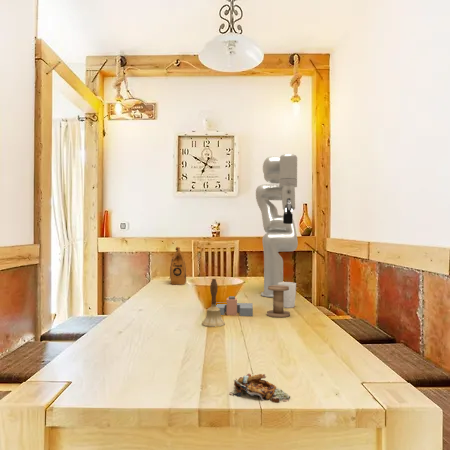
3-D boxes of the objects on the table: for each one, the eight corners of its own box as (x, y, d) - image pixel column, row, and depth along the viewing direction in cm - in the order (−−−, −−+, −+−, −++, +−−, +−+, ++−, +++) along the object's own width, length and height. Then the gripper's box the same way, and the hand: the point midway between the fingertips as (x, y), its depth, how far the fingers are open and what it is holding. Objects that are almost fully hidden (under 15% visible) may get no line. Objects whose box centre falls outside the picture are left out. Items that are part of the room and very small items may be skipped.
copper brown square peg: (237, 313, 153) (237, 296, 153) (236, 315, 149) (236, 297, 149) (226, 312, 153) (227, 295, 153) (226, 315, 149) (226, 297, 149)
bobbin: (266, 312, 155) (266, 284, 155) (288, 312, 154) (288, 285, 154) (267, 317, 146) (267, 288, 146) (291, 317, 145) (291, 288, 145)
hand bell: (230, 324, 136) (230, 278, 136) (213, 328, 129) (213, 281, 130) (213, 320, 141) (213, 276, 141) (196, 324, 135) (197, 278, 135)
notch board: (252, 310, 157) (252, 303, 158) (252, 316, 148) (252, 308, 148) (213, 309, 158) (213, 302, 158) (211, 315, 148) (211, 307, 148)
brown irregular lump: (286, 406, 74) (286, 388, 74) (227, 397, 78) (227, 379, 78) (293, 392, 80) (293, 375, 80) (238, 384, 85) (238, 367, 85)
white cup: (295, 304, 170) (295, 282, 170) (296, 308, 162) (296, 284, 162) (277, 304, 171) (277, 281, 171) (277, 308, 163) (278, 284, 163)
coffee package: (168, 285, 225) (168, 247, 226) (170, 282, 238) (170, 246, 238) (185, 285, 226) (185, 247, 226) (186, 282, 238) (186, 246, 239)
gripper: (298, 181, 155) (298, 224, 156) (295, 185, 173) (294, 223, 173) (280, 181, 156) (279, 223, 156) (278, 185, 173) (278, 223, 174)
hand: (287, 223), depth 165 cm, fingers open, 9 cm apart
